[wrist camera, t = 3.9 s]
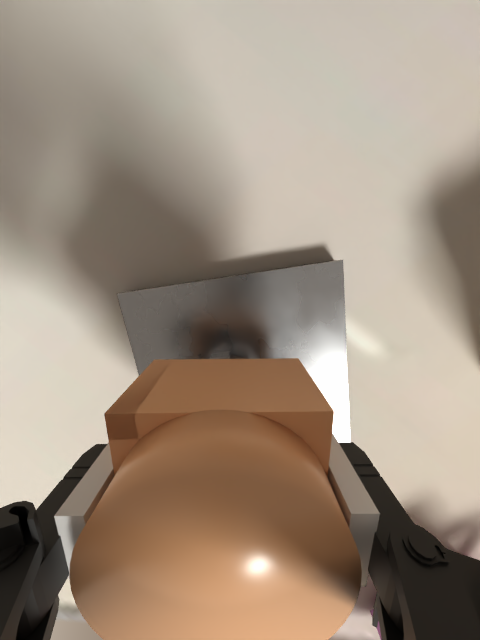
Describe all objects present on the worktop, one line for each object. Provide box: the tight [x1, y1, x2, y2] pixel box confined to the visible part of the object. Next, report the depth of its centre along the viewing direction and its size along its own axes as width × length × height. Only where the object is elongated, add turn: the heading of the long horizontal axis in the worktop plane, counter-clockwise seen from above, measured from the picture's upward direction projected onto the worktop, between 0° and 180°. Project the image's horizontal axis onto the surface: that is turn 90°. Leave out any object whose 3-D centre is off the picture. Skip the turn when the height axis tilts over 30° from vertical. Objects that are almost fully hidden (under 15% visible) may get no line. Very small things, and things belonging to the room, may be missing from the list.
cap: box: [69, 358, 362, 640], centre depth 8 cm, size 7×7×6 cm
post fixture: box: [117, 260, 350, 442], centre depth 12 cm, size 14×14×9 cm
